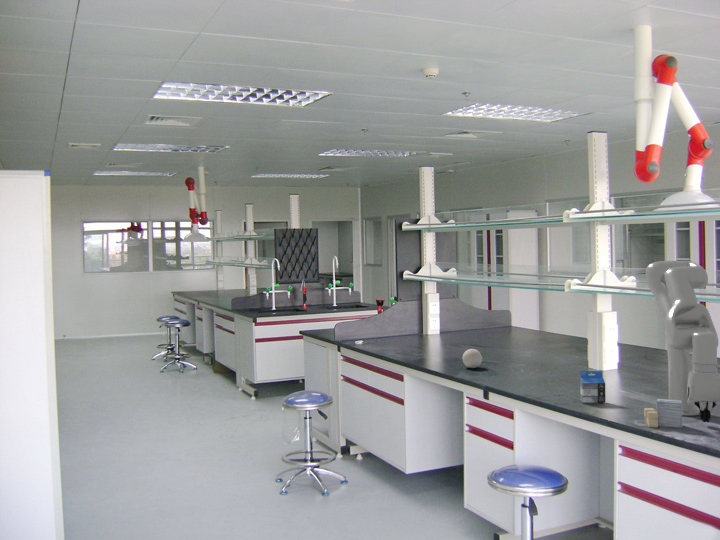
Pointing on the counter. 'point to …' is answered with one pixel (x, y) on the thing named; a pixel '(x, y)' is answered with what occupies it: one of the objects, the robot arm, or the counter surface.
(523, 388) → the counter surface
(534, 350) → the counter surface
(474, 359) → the grey felt ball
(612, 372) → the counter surface
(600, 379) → the blue and grey box
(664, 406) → the medicine box
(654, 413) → the bench stop
